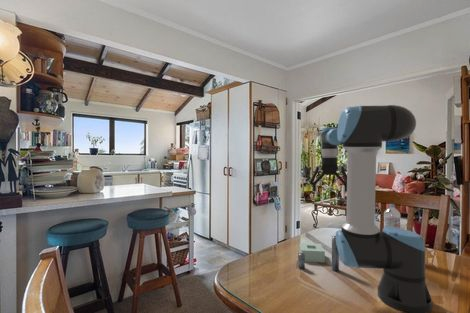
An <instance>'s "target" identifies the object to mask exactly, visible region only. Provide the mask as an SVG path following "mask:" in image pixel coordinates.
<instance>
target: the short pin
mask: <svg viewBox="0 0 470 313" xmlns="http://www.w3.org/2000/svg"><path fill="white" fill-rule="evenodd" d="M297 268H298V269H299V270H306V261H305V254H304V253H300V252H299V253H298V254H297Z"/></svg>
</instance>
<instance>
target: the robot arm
mask: <svg viewBox="0 0 470 313" xmlns="http://www.w3.org/2000/svg"><path fill="white" fill-rule="evenodd" d="M416 119H417V118H416V117H415V115H414V114H413V112H412V111H411V110H409V109H408V108H407V107H404V106H400V105H396V104H395V105H394V104H390V105H355V106H349V107H346V108H345V109H343V111H342V112H341V113H340V115H339V119H338V121H337V122H338V123H337V127H335V126H332V127H331V126H330V127H329V126H327V127H323V128H322V129H321V133H320V134H321V157H322V158H321V166H318V165H316V166H315V170H314V172H313V173H312V176H311V178H310V180H309V181H308V183H309V184H311V185H312V191H313V192H314V198H315V199H317V198H318V185H317V184H318V183H319V181H321V179H322V178H323V177H324V176H325V175H326V176H329V175H330V176H333V175H334V176H335V177H336V178H337V179H338V180H339V181H340V182H341V184H342V185H341V198H342V199H346V220H345V221H344V222H343V223H342V224H341V230H337V231H336V232H335V236H336V244H337V249H338V253H339V260H340V261H341V263H342V265H344V266H346V267H348V268H349V267H350V268H356V269H359V268H361V269H362V268H363V269H379V270H382V272H383V273H382V275H381V278H380V279H379V283H378V285H377V296H378V298H379V299H380V300H381V301H382V302H384V303H385V304H386V305H388V306H390V307H392V308H393V309H396V310H398V311H402V312H405V313H430V312H432V310H433V300H432V296H431V294H430V290H429V289H428V286H427V283H426V251H427V249H426V245H425V244H426V243H425V238H424V237H423V236H421V234H419V233H416V232H414V231H412V230H408V229H404V228H401V227H400V228H395V227H384V226H383V228H382V230H381V231H382V232H381V231H380V228H379V227H378V226H377V225H376V224H375V223H376V222H375V221H376V220H375V219H376V182H377V180H376V179H377V153H378V152H379V151H380V150H381V149H382V147H383V142H394V141H401V140H405V139H407V138H408V137H409V136H411V135H412V134H413V133H414V131H415V130H416V126H417V120H416ZM338 146H342V148H343V149H344V150H345V151H346V153H347V159H346V160H347V167H346V172H345V167H344V166H338V158H337V156H338ZM338 170H339V171H340V173H341V174H342V176H343V177H341V175H340V174H339V173H338ZM319 171H321V173H320V174H319V175H318V173H319ZM317 175H318V177H317ZM316 177H317V178H316ZM343 178H344V179H343ZM345 194H346V195H345Z"/></svg>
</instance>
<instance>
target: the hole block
mask: <svg viewBox="0 0 470 313" xmlns="http://www.w3.org/2000/svg"><path fill="white" fill-rule="evenodd" d="M299 253H304V254H305V263H307V262H309V263H310V262H311V263H325V262H326V260H325V258H326V254H325V253H326V251H325V250H324V248H323V245H322V243H313V242H312V243H311V242H310V243H309V242H299Z"/></svg>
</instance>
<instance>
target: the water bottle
mask: <svg viewBox="0 0 470 313" xmlns="http://www.w3.org/2000/svg"><path fill="white" fill-rule="evenodd" d="M401 216H402V215H401V212H400V211H399V210H398V209H397V208H395V204H393V203H390V204H389V207H388V208H386V209H385V210H384V212H383V228H384V227H395V228H400V229H401Z"/></svg>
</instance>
